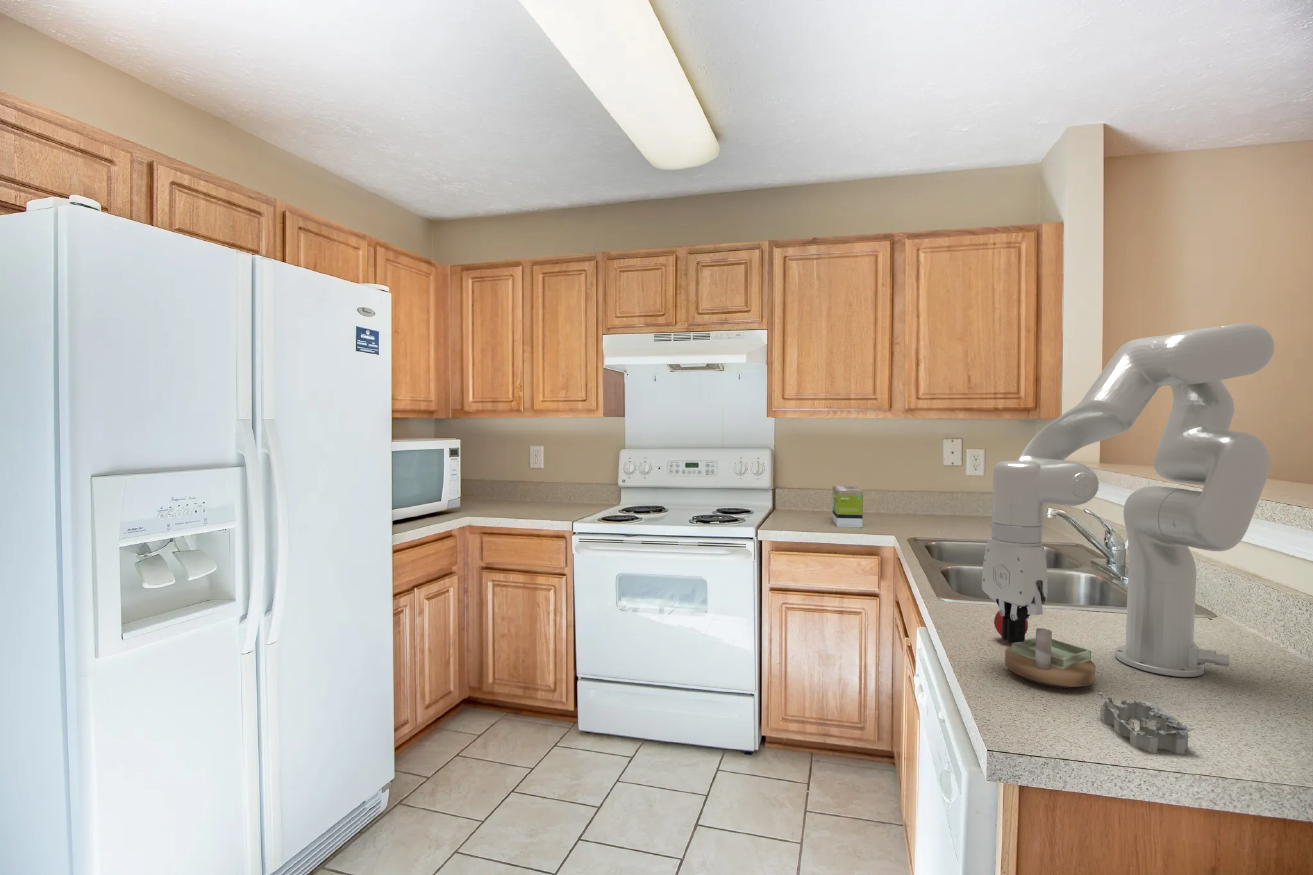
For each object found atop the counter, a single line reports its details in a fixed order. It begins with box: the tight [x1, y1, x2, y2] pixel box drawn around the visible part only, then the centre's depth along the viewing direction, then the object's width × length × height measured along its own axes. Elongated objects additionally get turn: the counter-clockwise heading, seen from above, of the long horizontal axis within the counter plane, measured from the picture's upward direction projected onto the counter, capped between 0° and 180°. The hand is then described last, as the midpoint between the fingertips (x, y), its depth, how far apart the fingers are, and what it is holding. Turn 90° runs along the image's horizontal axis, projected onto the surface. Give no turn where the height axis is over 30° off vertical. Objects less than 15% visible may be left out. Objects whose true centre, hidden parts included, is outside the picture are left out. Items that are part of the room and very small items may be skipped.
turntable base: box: [1023, 677, 1071, 689], centre depth 109 cm, size 8×8×1 cm
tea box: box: [832, 485, 864, 529], centre depth 259 cm, size 15×10×15 cm, turn 172°
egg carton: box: [1096, 691, 1195, 755], centre depth 90 cm, size 11×8×4 cm
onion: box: [993, 610, 1029, 637], centre depth 126 cm, size 6×6×8 cm
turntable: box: [1004, 627, 1097, 688], centre depth 109 cm, size 13×13×8 cm
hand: (1013, 640), depth 111 cm, fingers closed
